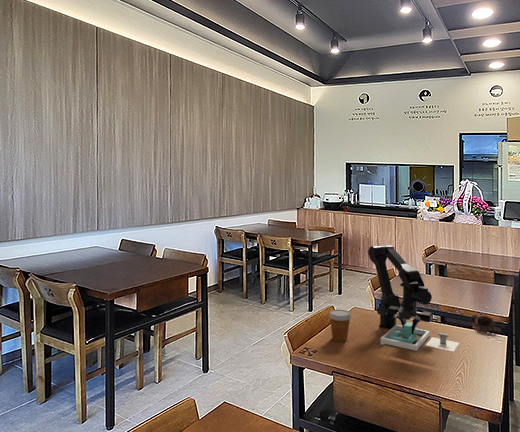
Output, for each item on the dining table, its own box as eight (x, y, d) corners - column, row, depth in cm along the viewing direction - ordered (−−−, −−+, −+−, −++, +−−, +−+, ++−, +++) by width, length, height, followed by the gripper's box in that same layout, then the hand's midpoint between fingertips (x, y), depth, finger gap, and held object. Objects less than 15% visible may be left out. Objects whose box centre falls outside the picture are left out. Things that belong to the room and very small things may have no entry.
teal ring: (389, 340, 186) (389, 329, 186) (400, 330, 198) (400, 320, 197) (411, 344, 181) (411, 334, 180) (420, 334, 193) (421, 324, 192)
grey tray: (380, 344, 186) (380, 337, 185) (395, 330, 202) (396, 324, 202) (416, 352, 177) (416, 345, 177) (429, 337, 193) (429, 331, 193)
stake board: (425, 347, 182) (425, 336, 182) (432, 339, 191) (432, 328, 191) (453, 353, 176) (454, 341, 175) (459, 345, 185) (459, 333, 184)
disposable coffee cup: (327, 342, 189) (328, 315, 188) (329, 334, 198) (329, 308, 197) (350, 344, 187) (350, 316, 185) (351, 336, 196) (351, 310, 195)
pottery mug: (500, 332, 200) (500, 320, 196) (486, 344, 197) (486, 332, 193) (477, 319, 209) (476, 307, 205) (463, 330, 207) (462, 318, 202)
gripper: (382, 299, 190) (381, 333, 192) (426, 306, 179) (425, 343, 181) (391, 293, 199) (390, 326, 201) (433, 299, 188) (432, 334, 190)
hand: (408, 332), depth 193 cm, fingers closed on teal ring, 3 cm apart
